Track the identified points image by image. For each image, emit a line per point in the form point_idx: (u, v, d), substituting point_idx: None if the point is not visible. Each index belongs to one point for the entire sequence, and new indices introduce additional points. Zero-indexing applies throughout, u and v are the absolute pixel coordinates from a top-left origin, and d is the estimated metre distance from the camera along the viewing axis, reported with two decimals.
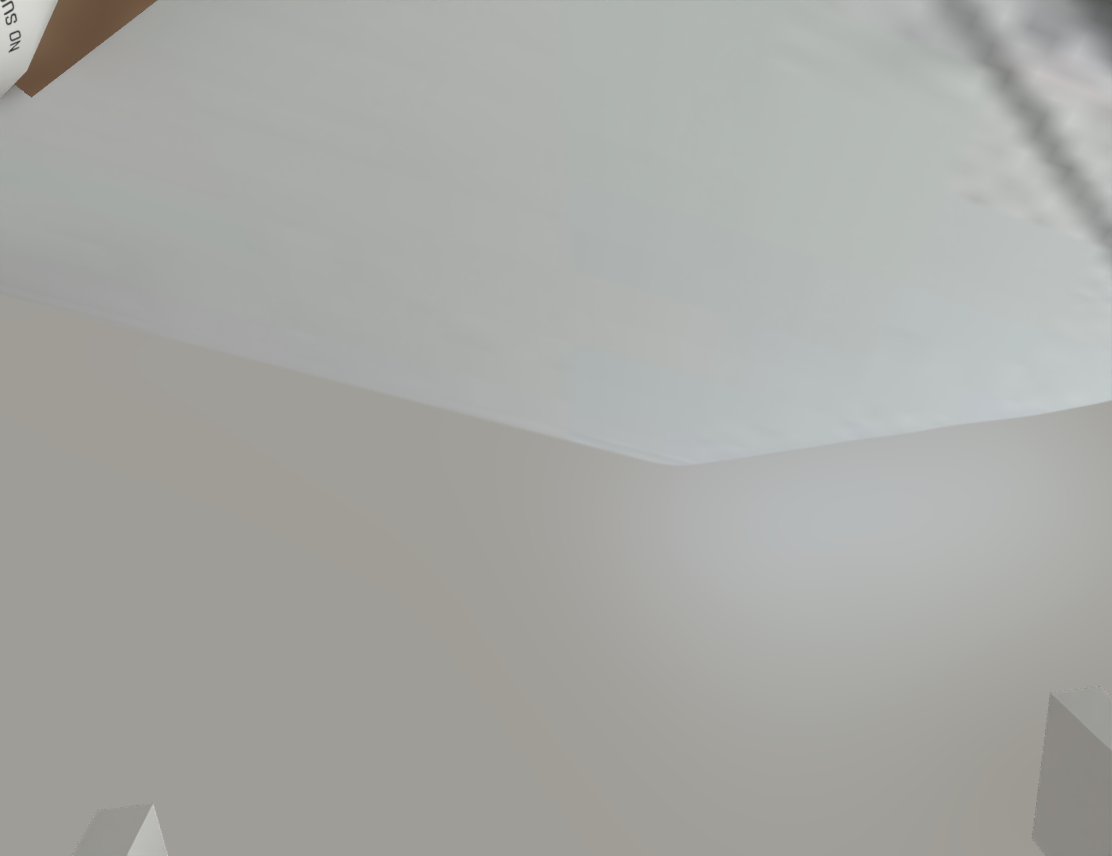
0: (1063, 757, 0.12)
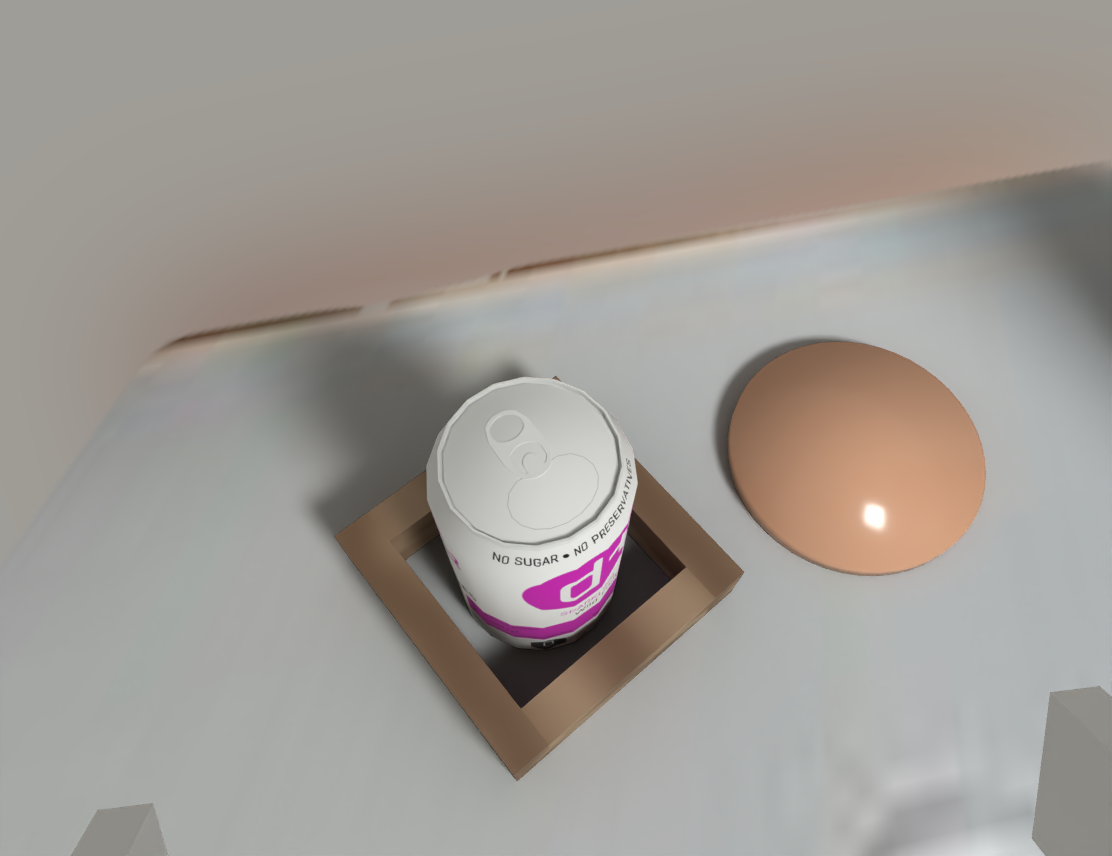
0: (1063, 757, 0.12)
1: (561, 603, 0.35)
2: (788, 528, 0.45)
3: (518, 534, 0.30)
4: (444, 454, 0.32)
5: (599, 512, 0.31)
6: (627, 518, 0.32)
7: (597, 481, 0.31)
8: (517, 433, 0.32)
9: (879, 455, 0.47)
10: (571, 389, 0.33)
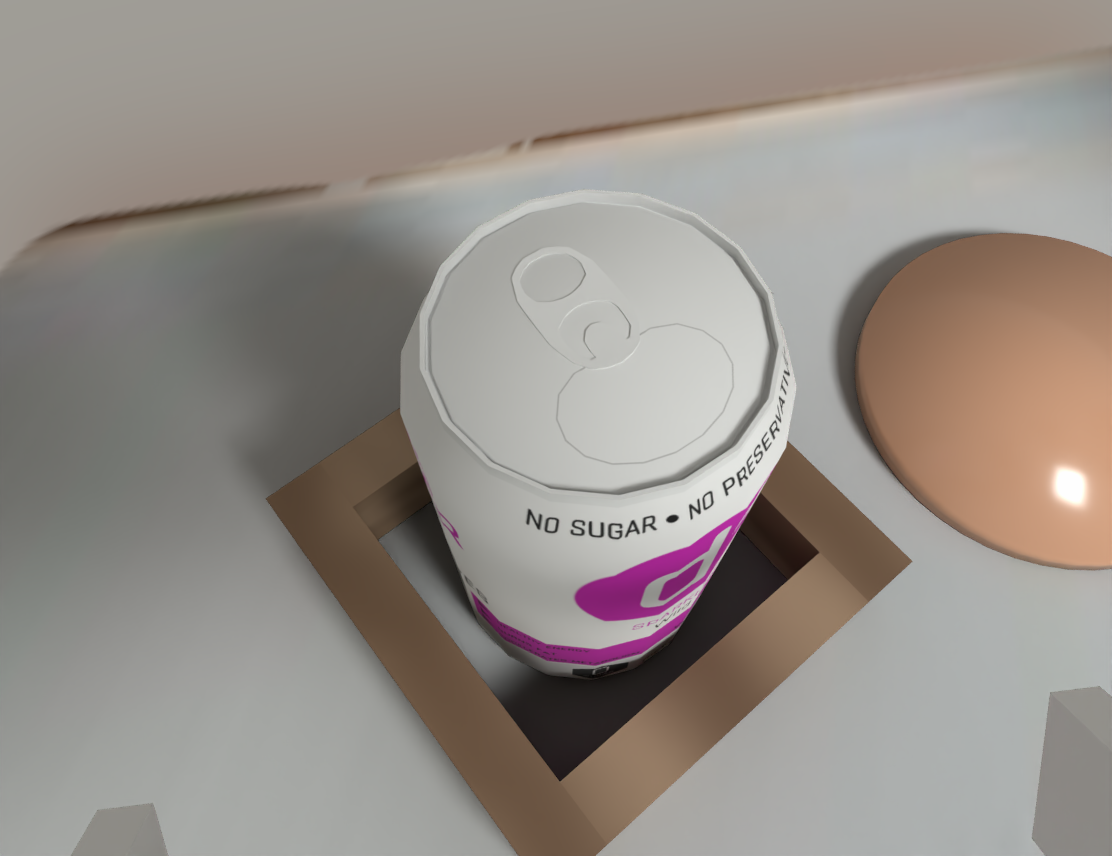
0: (1063, 757, 0.12)
1: (639, 609, 0.20)
2: (959, 496, 0.30)
3: (579, 472, 0.15)
4: (432, 323, 0.16)
5: (739, 433, 0.15)
6: (782, 450, 0.17)
7: (731, 375, 0.16)
8: (572, 287, 0.17)
9: (1086, 391, 0.31)
10: (672, 212, 0.18)
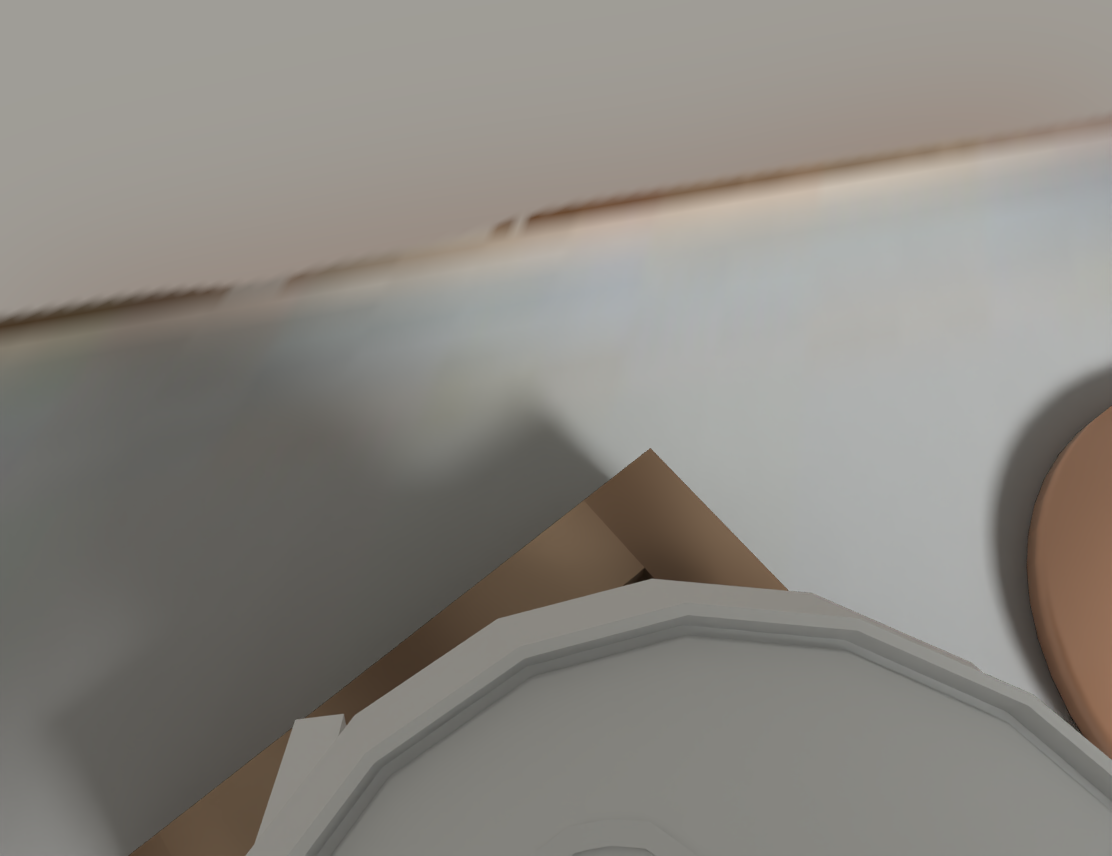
0: None
1: None
2: None
3: None
4: None
5: None
6: None
7: None
8: None
9: None
10: (954, 678, 0.06)
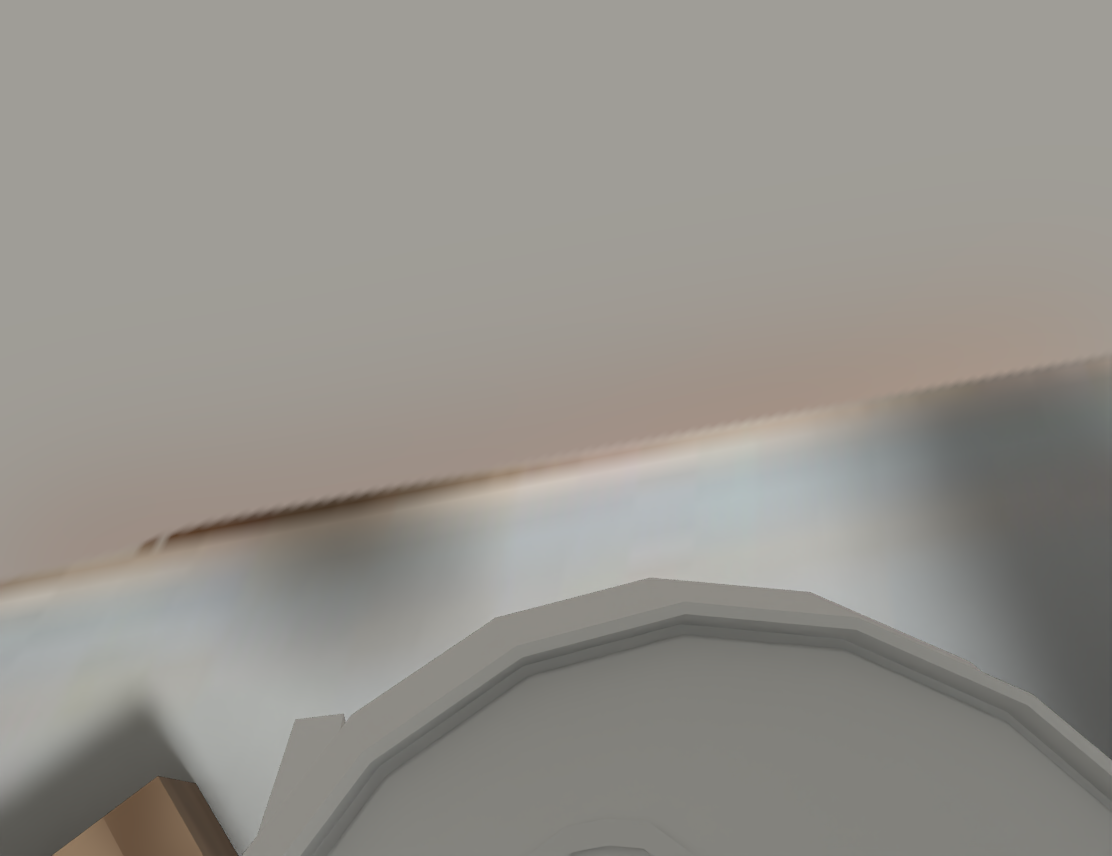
0: None
1: None
2: None
3: None
4: None
5: None
6: None
7: None
8: None
9: None
10: (953, 678, 0.06)
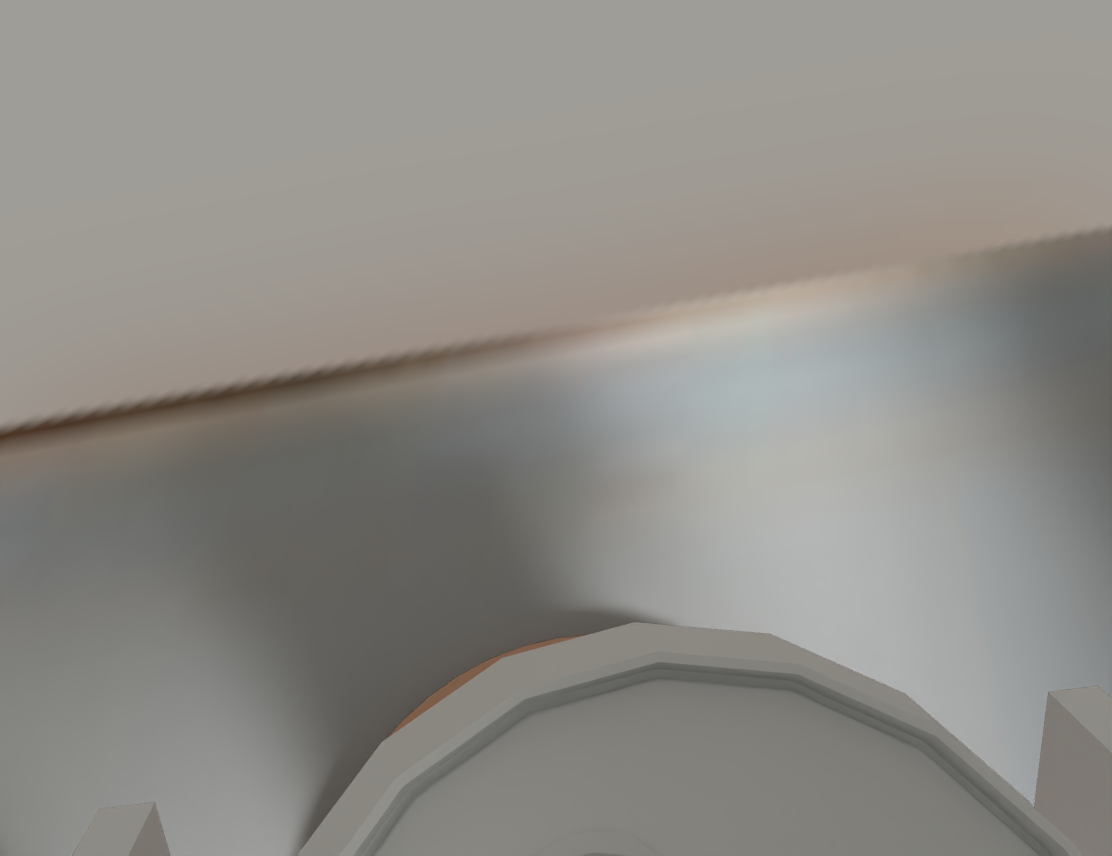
0: (1061, 757, 0.12)
1: None
2: None
3: None
4: None
5: None
6: None
7: None
8: None
9: None
10: (878, 713, 0.07)
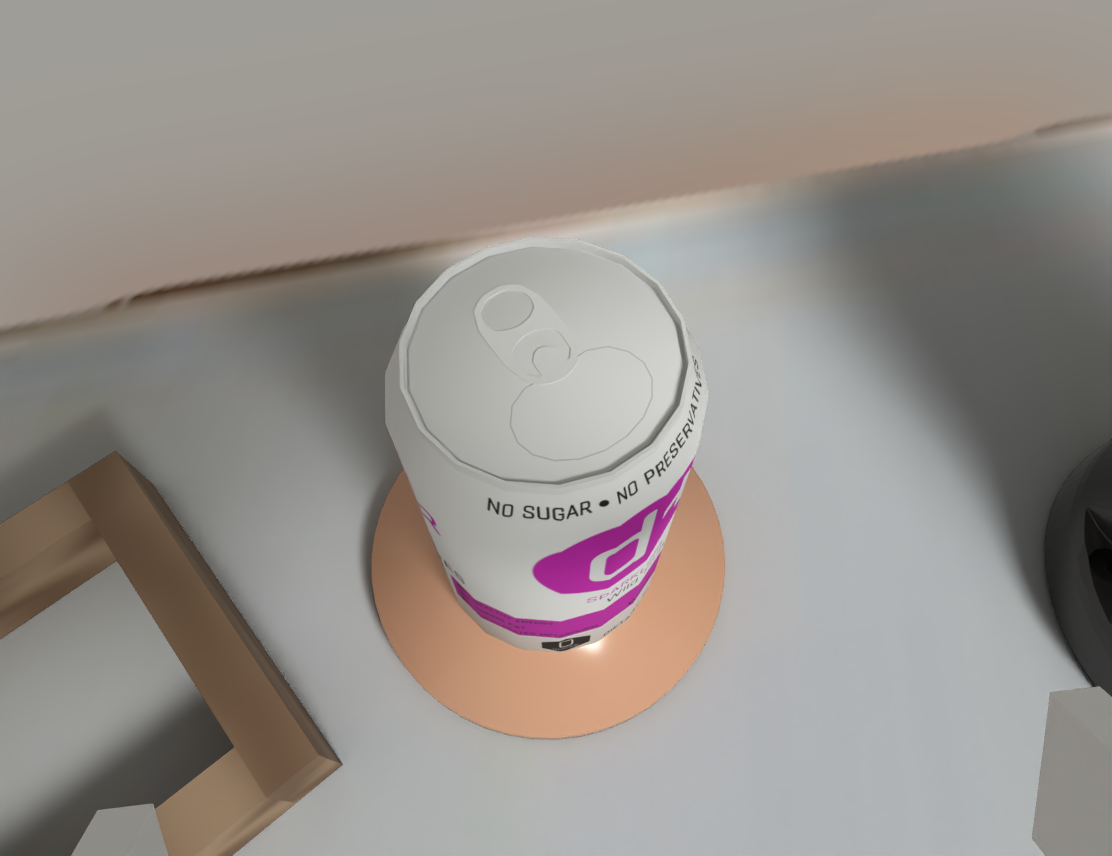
0: (1063, 757, 0.12)
1: (590, 583, 0.24)
2: (430, 671, 0.31)
3: (528, 468, 0.19)
4: (410, 350, 0.20)
5: (656, 433, 0.19)
6: (696, 447, 0.21)
7: (650, 387, 0.20)
8: (523, 317, 0.21)
9: None
10: (605, 254, 0.21)
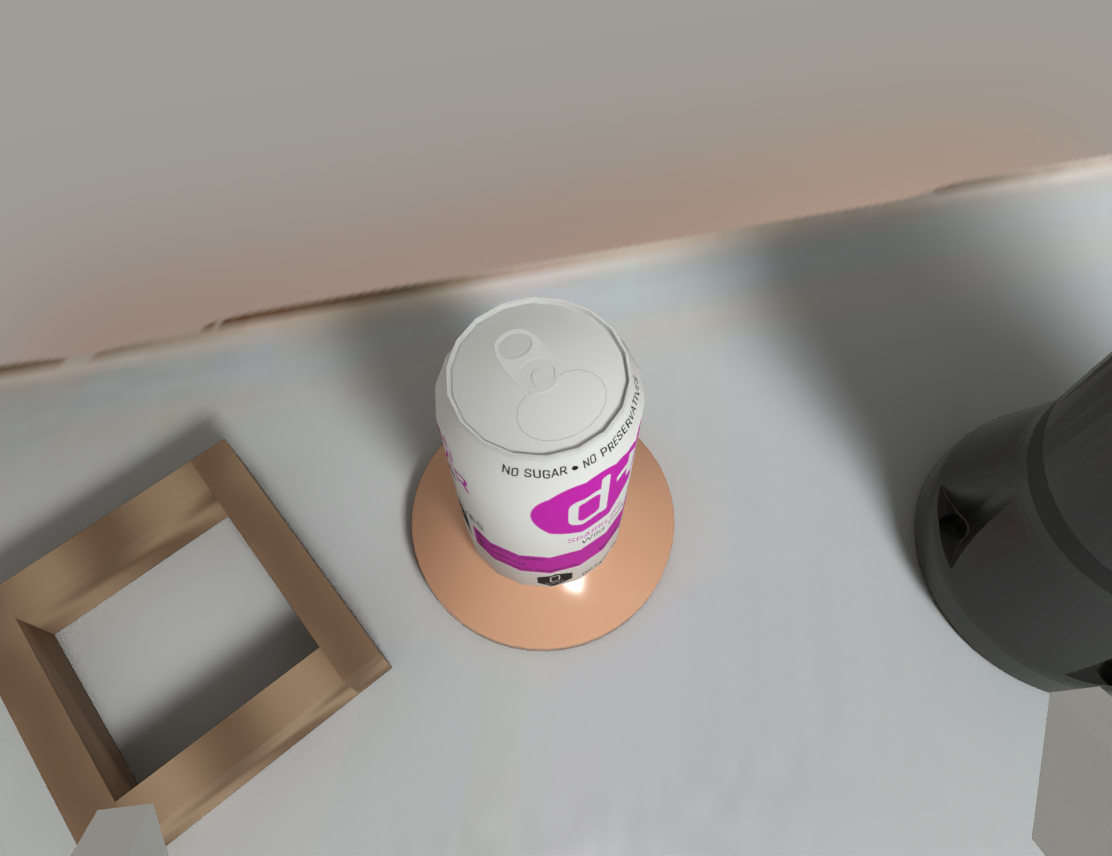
0: (1063, 756, 0.12)
1: (569, 526, 0.35)
2: (456, 600, 0.43)
3: (527, 445, 0.30)
4: (452, 371, 0.32)
5: (607, 424, 0.31)
6: (635, 434, 0.32)
7: (605, 395, 0.31)
8: (525, 350, 0.32)
9: None
10: (578, 308, 0.33)
